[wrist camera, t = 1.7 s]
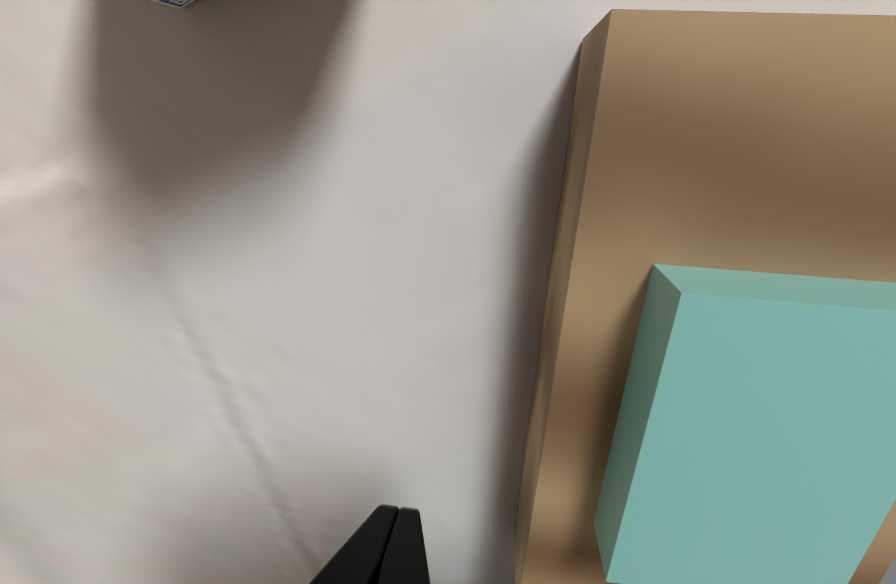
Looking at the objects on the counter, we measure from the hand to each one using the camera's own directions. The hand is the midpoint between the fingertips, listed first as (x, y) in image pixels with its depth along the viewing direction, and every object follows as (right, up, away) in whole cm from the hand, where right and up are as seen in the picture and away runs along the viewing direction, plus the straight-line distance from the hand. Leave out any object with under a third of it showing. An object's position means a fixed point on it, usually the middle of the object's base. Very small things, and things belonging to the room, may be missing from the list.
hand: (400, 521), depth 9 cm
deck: (+10, +2, +7) cm, 12 cm away
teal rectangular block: (+9, +1, +3) cm, 10 cm away
